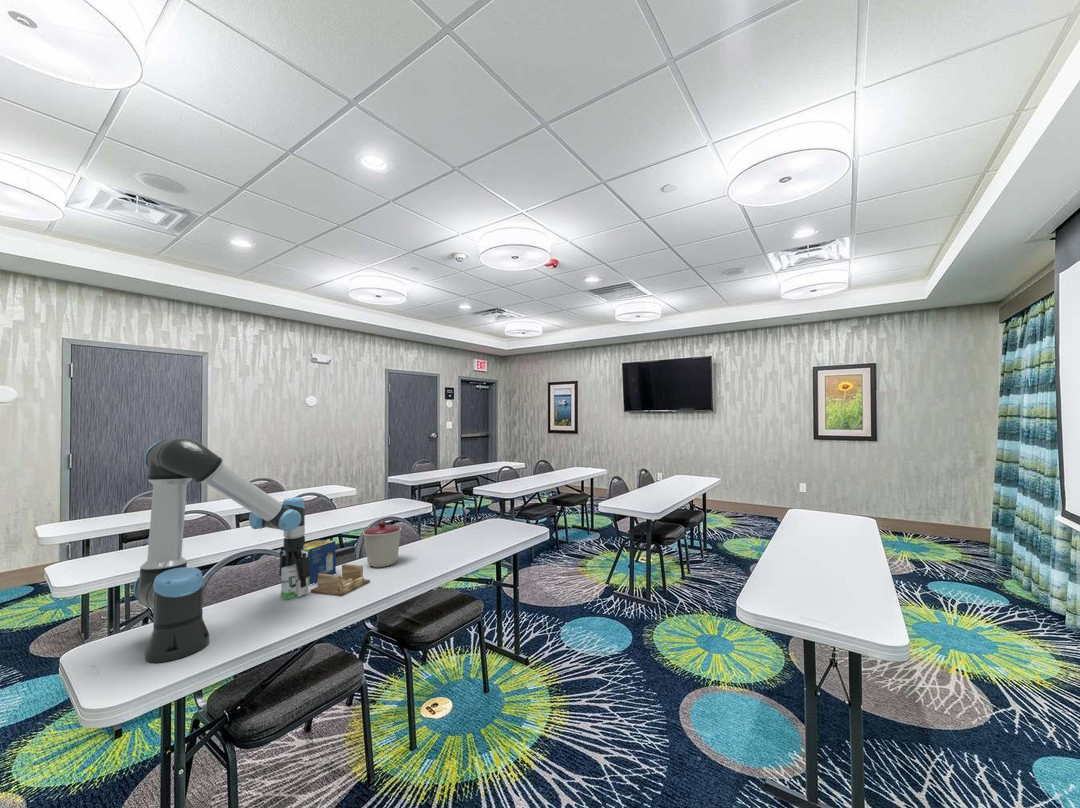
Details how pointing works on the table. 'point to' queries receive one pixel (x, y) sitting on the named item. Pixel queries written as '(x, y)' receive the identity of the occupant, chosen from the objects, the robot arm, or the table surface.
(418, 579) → the table surface
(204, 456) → the robot arm
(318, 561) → the protein box
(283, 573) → the ink box
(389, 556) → the canister
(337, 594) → the peg frame
